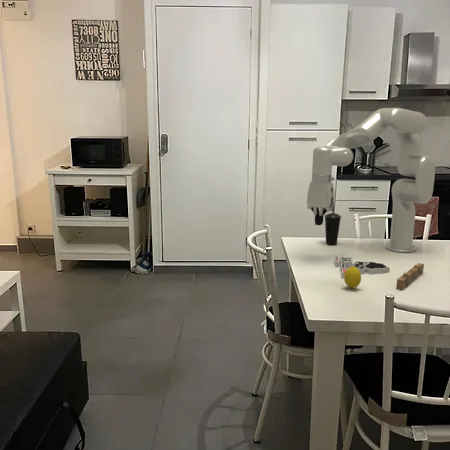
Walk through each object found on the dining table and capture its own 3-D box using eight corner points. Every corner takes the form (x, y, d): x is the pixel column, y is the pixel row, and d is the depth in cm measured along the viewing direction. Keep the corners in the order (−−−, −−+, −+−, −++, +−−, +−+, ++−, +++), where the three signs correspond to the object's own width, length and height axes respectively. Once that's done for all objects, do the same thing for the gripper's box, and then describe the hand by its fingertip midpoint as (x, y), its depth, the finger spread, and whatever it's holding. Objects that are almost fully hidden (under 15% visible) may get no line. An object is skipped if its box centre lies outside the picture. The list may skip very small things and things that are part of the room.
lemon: (357, 292, 153) (359, 269, 152) (341, 289, 156) (342, 267, 154) (362, 287, 158) (363, 265, 156) (346, 284, 161) (347, 262, 159)
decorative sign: (334, 256, 188) (386, 259, 184) (334, 262, 189) (385, 265, 185) (336, 273, 167) (394, 276, 163) (336, 279, 168) (393, 283, 164)
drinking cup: (341, 246, 211) (344, 203, 206) (324, 246, 211) (327, 203, 207) (337, 242, 218) (340, 200, 214) (321, 242, 218) (323, 200, 214)
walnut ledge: (417, 271, 175) (418, 261, 174) (423, 273, 174) (424, 262, 173) (396, 289, 156) (397, 277, 156) (402, 290, 155) (403, 278, 154)
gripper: (343, 179, 179) (340, 225, 182) (309, 176, 188) (306, 220, 192) (334, 181, 173) (331, 229, 177) (299, 178, 182) (297, 223, 186)
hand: (318, 224), depth 184 cm, fingers closed
